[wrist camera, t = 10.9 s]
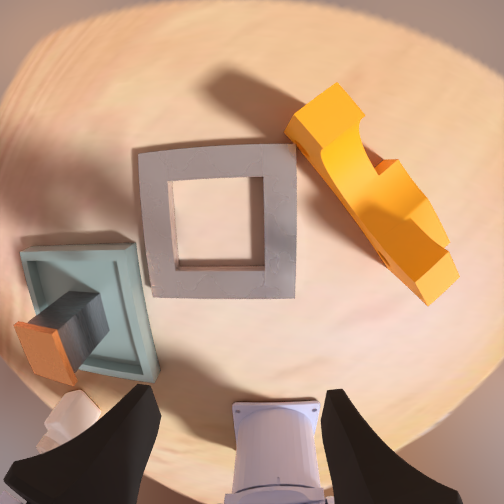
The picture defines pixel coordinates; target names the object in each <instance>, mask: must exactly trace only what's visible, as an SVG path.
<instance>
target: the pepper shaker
mask: <svg viewBox="0 0 504 504" xmlns="http://www.w3.org/2000/svg"><path fill="white" fill-rule="evenodd" d="M100 414H101V411H100V409H99V408H98V407H97V406H96V405H95V404H94V402H93V401H92V400H91V399H90V398H89V397H88V396H87V395H86V394H85V392H83V391H82V390H76V391H72V392H68V393H65V394H64V396H63V397H62V398H61V400H60V401H59V402H58V404H57V405H56V407H55V408H54V409H53V411H52V412H51V413H50V415H49V416H48V418H47V419H46V420H45V422H44V424H45V426H46V428H47V430H48V431H47V433H46V434H45V435H44V436H43V437H42V439H41V441H40V442H39V444H38V445H37V447H36V448H37V449H38V451H39V452H40V453H41V454H42V453H45V452H47V451H50V450H52V449H54V448H56V447H58V446H60V445H62V444H64V443H66V442H68V441H70V440H71V439H73V438H75V437H76V436H78V435H79V434H81V433H82V432H84V431H85V430H86V429H88V428H89V427H90V426H92V425H93V424H94V423H95V422H96V421H97V419H98V418H99V416H100Z"/></svg>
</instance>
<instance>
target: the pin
mask: <svg viewBox="0 0 504 504" xmlns="http://www.w3.org/2000/svg"><path fill="white" fill-rule="evenodd" d="M14 328H15V330H16V333H17V335H18V338H19V340H20V343H21V345H22V348H23V350H24V352H25V354H26V357H27V359H28V361H29V363H30V365H31V367H32V370H33V372H34V374H37V375H39V376H42V377H45V378H48V379H51V380H54V381H58V382H61V383H64V384H67V385H71V386H74V385H75V384H76V383H77V378H76V376H75V372H76V371H77V370H78V369H79V367H80V366H81V365H82V364H83V362H84V361H85V360H86V359H87V357H88V356H89V355H90V354H91V353H92V351H93V350H94V349H95V348H96V347H97V345H98V344H99V343H100V342H101V341H102V339H103V338H104V337H105V336H106V335H107V333H108V332H109V331H110V329H109V326H108V322H107V318H106V315H105V311H104V307H103V303H102V298H101V294H100V293H94V292H79V291H68V292H67V293H65V294H64V295H62V296H61V297H60V298H58V299H57V300H56V301H55V302H53V303H52V304H51V305H49V306H48V307H47V308H45V309H44V310H43V311H42V312H40V313H39V314H38V315H36V316H35V317H34V318H33V319H31V320H30V321H29V322H28V323H24V322H19V321H18V322H17V323H16V324H15V325H14Z"/></svg>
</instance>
